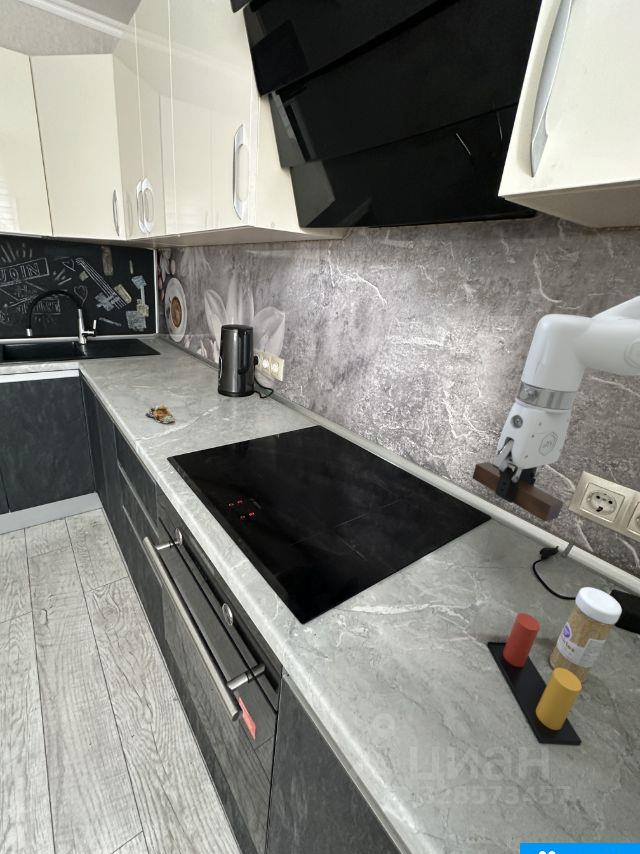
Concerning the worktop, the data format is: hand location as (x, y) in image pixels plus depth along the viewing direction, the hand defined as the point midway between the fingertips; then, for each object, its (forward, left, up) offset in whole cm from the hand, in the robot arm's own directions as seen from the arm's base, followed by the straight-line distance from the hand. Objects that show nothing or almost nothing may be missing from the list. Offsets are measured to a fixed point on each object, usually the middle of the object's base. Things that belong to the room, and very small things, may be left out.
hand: (512, 495), depth 67 cm
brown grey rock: (+81, -66, -17) cm, 106 cm away
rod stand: (+5, +22, -17) cm, 28 cm away
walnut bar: (0, 0, 0) cm, 0 cm away
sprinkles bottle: (-3, +19, -17) cm, 26 cm away
